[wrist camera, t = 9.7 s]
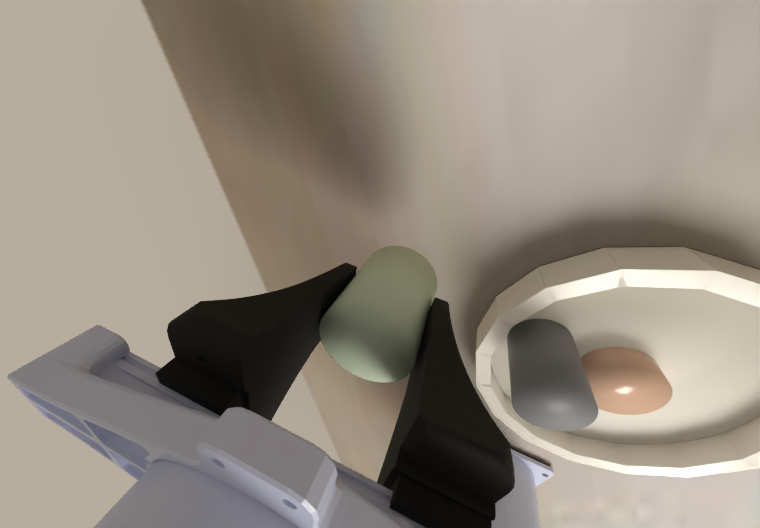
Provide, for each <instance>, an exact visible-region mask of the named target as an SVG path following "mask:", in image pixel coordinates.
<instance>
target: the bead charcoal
mask: <svg viewBox="0 0 760 528" xmlns="http://www.w3.org/2000/svg"><path fill="white" fill-rule="evenodd" d="M507 346H508V359H509V373H510V387H511V401H512V406H513V408H514V410H515V412H516V413H517V414H518V415H519V416H520V417H521V418H523V419H524V420H525V421H527V422H529V423H531V424H533V425H535V426H538V427H541V428H544V429H548V430H554V431H573V430H578V429H582V428H585V427H587V426H589V425H590V424H592V423H593V422H594V421H595V420H596V418H597V416H598V406H597V403H596V400H595V398H594V395H593V392H592V389H591V386H590V384H589V381H588V378H587V375H586V372H585V370H584V367H583V364H582V361H581V358H580V356H579V353H578V350H577V347H576V344H575V342H574V339H573V336H572V334H571V333H570V331H569V330H568V329H567V328H566V327H564V326H563V325H561V324H560V323H557V322H555V321H552V320H548V319H529V320H525V321H522V322H520V323H518V324H516V325H515V326H513V327H512V328H511V330H510V331H509V333H508V336H507Z"/></svg>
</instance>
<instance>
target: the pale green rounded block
mask: <svg viewBox="0 0 760 528" xmlns="http://www.w3.org/2000/svg"><path fill="white" fill-rule="evenodd" d="M436 288H437V278H436V274H435V271H434V269H433V267H432V266H431V264H430V263H429V262H428V260H427V259H426V258H424V257H423V256H422V255H421V254H419V253H418V252H416V251H414V250H412V249H410V248H406V247H402V246H388V247H384V248H381V249H379V250H377V251H376V252H375V253H373V254H372V255H371V257H370V258H369V259H368V260H367V262H366V263H365V264H364V265H363V267H362V268H361V269H360V270H359V272H358V273H357V274H356V275H355V277H354V278H353V279H352V280H351V282H350V283H349V284H348V285H347V287H346V288H345V289H344V291H343V292H342V293H341V294H340V296H339V297H338V298H337V299H336V301H335V302H334V303H333V304H332V306H331V307H330V308H329V309H328V311H327V312H326V313H325V314H324V316H323V317H322V319H321V322H320V326H319V332H320V338H321V341H322V343H323V346H324V347H325V349H326V351H327V352H328V354H329V355H330V356H331V357H332V358H333V359H334V360H335V361H336V362H337V363H338V364H339V365H340V366H341V367H343V368H344V369H345V370H347V371H348V372H350V373H352V374H354V375H356V376H358V377H360V378H363V379H366V380H369V381H374V382H384V383H385V382H394V381H397V380H400V379H402V378H404V377H405V376H407V375H408V374H409V373H410V372H411V370H412V368H413V366H414V363H415V360H416V356H417V353H418V350H419V346H420V343H421V339H422V336H423V333H424V329H425V326H426V322H427V318H428V315H429V312H430V308H431V306H432V302H433V299H434V295H435V292H436Z"/></svg>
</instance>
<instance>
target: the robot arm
mask: <svg viewBox="0 0 760 528" xmlns="http://www.w3.org/2000/svg"><path fill="white" fill-rule="evenodd" d="M356 270H357V267H356V266H353V265H350V264H348V263H344V264H342V265H340V266H338V267H336V268H334V269H332V270H330V271H328V272H326V273H323V274H321V275H319V276H317V277H315V278H312V279H310V280H307V281H305V282H302V283H300V284H297V285H294V286H291V287H288V288H285V289H281V290H278V291H274V292H269V293H265V294H261V295H255V296H250V297H243V298H236V299H228V300H214V301H201V302H199V303H198V304H196V305H194V306H193V307H192V308H190V309H189V310H187V311H185V312H184V313H183V314H181V315H180V316H178V317H177V318H175V319H174V320H172V321H171V322H170V323H169V324H168V329H167V332H168V337H169V340H170V343H171V346H172V349H173V352H174V355H175V358H174V359H172V360H171V361H170V362H169V363H167V364H166V365H165V366H164V367H162V368H159V367H157V366H156V365H154V364H152V363H150V362H148V361H146V360H144V359H143V358H141V357H139V356H137V355H135V354H133V353H131V352H130V349H129V346H128V344H127V342H126V341H125V340H124V339H123V338H122V337H121V336H119V335H118V334H116V333H114V332H112V331H110V330H108V329H106V328H104V327H102V326H100V325H96V326H94V327H93V328H91V329H89V330H87V331H85V332H84V333H82V334H80V335H78V336H77V337H75V338H73V339H71V340H70V341H68V342H66V343H64V344H62V345H60V346H59V347H57V348H55V349H53V350H51V351H50V352H48V353H46V354H44V355H42V356H41V357H39V358H37V359H35V360H33V361H32V362H30V363H28V364H26V365H24V366H23V367H21V368H19V369H17V370H16V371H14V372H12V373H10V374H9V375H8V379H9V380H10V381H11V382H12V383H13V384H14V385H15V386H16V387H17V388H18V389H19V390H20V392H21V393H23V395H24V396H26V398H27V399H28V400H29V401H30V402H31V403H32V404H33V405H34V406H35V407H36V408H37V409H38V410H39V411H40V412H41V413H42V414H43V415H44V416H45V417H46V418H48V419H49V420H51V421H52V422H54V423H56V424H57V425H59V426H60V427H62V428H63V429H65V430H66V431H68V432H69V433H71V434H72V435H74V436H75V437H77V438H78V439H80V440H81V441H83V442H84V443H86V444H87V445H89V446H90V447H91V448H93V449H94V450H96V451H97V452H98V453H100V454H101V455H103V456H104V457H106V458H107V459H109V460H110V461H111V462H113V463H114V464H116V465H117V466H118V467H120V468H121V469H122V470H124V471H125V472H127V473H128V474H130V475H131V476H132V477H134V478H135V479H137V480H138V481H137V482H136V483H135V484H134V485H133V486H132V487H131V488H130V490H128V492H127V493H126V494H125V495H124V496H123V497H122V498H121V499H120V500H119V501H118V502H117V503H116V504H115V505H114V506H113V508H112V509H111V510H110V511H109V512H108V513H107V514H106V515H105V516H104V517H103V518H102V519H101V520H100V521H99V522H98V523H97V525H96V526H95V527H94V528H540V520H539V511H538V503H537V494H536V487H537V486H538V485H540V484H541V483H543V482H544V481H546V480H547V479H549V478H550V477H552V476H553V475H554V471H553V469H552V468H551V467H549V466H547V465H545V464H543V463H541V462H538V461H536V460H534V459H532V458H530V457H528V456H525V455H523V454H521V453H519V452H517V451H515V450H512V449H511V448H510V444H509V442H508V441H507V439H506V438H505V437H504V435H503V434H502V432H501V431H500V429H499V428H498V427H497V425H496V424H495V422H494V421H493V419H492V418H491V416H490V415H489V413H488V411H487V410H486V408H485V407H484V405H483V403H482V401H481V400H480V398H479V396H478V394H477V392H476V390H475V388H474V387H473V385H472V383H471V380H470V378H469V376H468V374H467V372H466V369H465V367H464V364H463V362H462V359H461V356H460V353H459V350H458V347H457V344H456V340H455V337H454V333H453V329H452V324H451V319H450V312H449V304H448V302H446V301H443V300H441V299H438V298H435V299H434V301H433V303H432V306H431V308H430V312H429V315H428V318H427V322H426V326H425V329H424V333H423V336H422V339H421V343H420V346H419V350H418V353H417V356H416V360H415V363H414V366H413V368H412V370H411V372H410V377H409V382H408V386H407V390H406V394H405V398H404V401H403V404H402V407H401V410H400V414H399V417H398V420H397V423H396V426H395V429H394V432H393V435H392V438H391V441H390V445H389V448H388V451H387V454H386V457H385V460H384V463H383V466H382V469H381V472H380V475H379V478H378V481H377V483H376V482H374V481H373V480H371V479H369V478H367V477H365V476H363V475H361V474H359V473H357V472H356V471H354V470H352V469H350V468H348V467H346V466H344V465H342V464H341V463H339V462H336V461H335V460H333V459H331V458H330V456H329V455H328V454H327V453H326V452H325V451H323V450H322V449H320V448H319V447H317V446H316V445H315V444H313V443H311V442H309V441H307V440H305V439H304V438H302V437H300V436H298V435H296V434H294V433H292V432H290V431H288V430H287V429H284V428H283V427H281V426H279V425H277V424H275V423H273V422H271V420H272V418H273V416H274V414H275V413H276V411H277V409H278V407H279V406H280V404H281V402H282V400H283V399H284V397H285V395H286V394H287V392H288V390H289V388H290V387H291V385H292V383H293V381H294V380H295V378H296V377H297V375H298V373H299V372H300V370H301V368H302V367H303V365H304V364H305V362H306V361H307V359H308V357H309V356H310V354H311V353H312V351H313V350H314V348H315V347H316V346H317V344H318V343H319V342H320V341H321V338H320V332H319V326H320V322H321V319H322V317H323V316H324V314H325V313H326V312H327V311H328V309H329V308H330V307H331V306H332V304H333V303H334V302H335V301H336V299H337V298H338V297H339V296H340V294H341V293H342V292H343V291H344V289H345V288H346V287H347V285H348V284H349V283H350V282H351V280H352V279H353V278H354V277H355V275H356Z"/></svg>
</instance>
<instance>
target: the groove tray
mask: <svg viewBox="0 0 760 528" xmlns="http://www.w3.org/2000/svg"><path fill="white" fill-rule="evenodd" d="M529 319H548V320H552V321H555V322H557V323H560V324H561V325H563V326H564V327H566V328H567V329H568V330H569V331H570V333H571V334H572V336H573V339H574V342H575V344H576V347H577V350H578V353H579V356H580V358H581V361H582V364H583V367H584V370H585V372H586V375H587V378H588V381H589V384H590V386H591V389H592V392H593V395H594V398H595V400H596V403H597V406H598V416H597V418H596V420H595V421H594V422H593V423H592V424H590V425H589V426H587V427H585V428H582V429H578V430H573V431H554V430H548V429H544V428H541V427H538V426H535V425H533V424H531V423H529V422H527V421H525V420H524V419H523V418H521V417H520V416H519V415H518V414H517V413H516V412H515V410H514V408H513V406H512V401H511V387H510V373H509V359H508V346H507V336H508V333H509V331H510V330H511V328H512V327H513V326H515V325H516V324H518V323H520V322H522V321H525V320H529ZM476 386H477V388H478V389H479V391H480V393H481V394H482V396H483V398H484V399H485V401H486V403H487V404H488V406H489V408H490V410H491V411H492V413H493V415H494V416H496V417H497V418H498V419H499V420H501V421H502V422H503V423H504V424H506V425H507V426H508V427H509V428H511V429H512V430H513V431H514V432H516V433H517V434H518V435H519V436H521V437H522V438H523V439H524V440H526V441H528V442H530V443H532V444H534V445H537V446H539V447H541V448H543V449H545V450H548V451H550V452H552V453H554V454H557V455H559V456H561V457H563V458H565V459H568V460H570V461H574V462H578V463H582V464H586V465H591V466H595V467H599V468H603V469H608V470H612V471H616V472H620V473H625V474H639V475H657V476H674V477H696V476H704V475H711V474H719V473H727V472H734V471H742V470H750V469H757V468H760V270H758V269H755V268H752V267H749V266H745V265H742V264H739V263H736V262H732V261H729V260H726V259H722V258H719V257H716V256H713V255H709V254H706V253H703V252H699V251H696V250H693V249H690V248H686V247H622V248H601V249H598V250H595V251H591V252H588V253H584V254H581V255H577V256H574V257H570V258H567V259H564V260H560V261H557V262H553V263H550V264H546V265H543V266H539V267H538V268H536V269H535V270H533V271H532V272H531V273H529V274H528V275H526V276H525V277H523V278H522V279H520V280H519V281H517V282H516V283H515V284H513V285H512V286H510V287H509V288H507V289H506V290H504V291H503V292H501V293H500V294H499V295H497V296H496V298H495V299H494V301H493V303H492V304H491V306H490V308H489V309H488V311H487V313H486V314H485V316H484V318H483V319H482V321H481V323H480V325H479V326H478V328H477V340H476Z"/></svg>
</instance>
